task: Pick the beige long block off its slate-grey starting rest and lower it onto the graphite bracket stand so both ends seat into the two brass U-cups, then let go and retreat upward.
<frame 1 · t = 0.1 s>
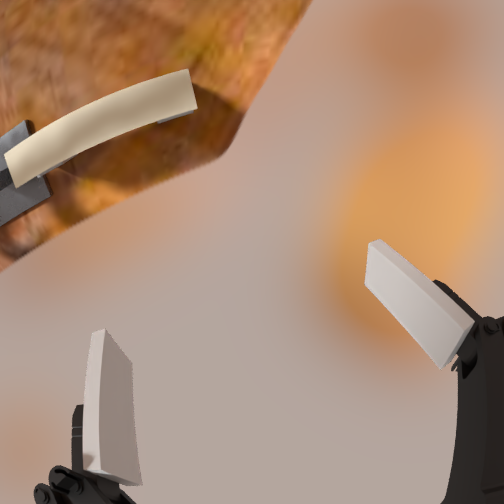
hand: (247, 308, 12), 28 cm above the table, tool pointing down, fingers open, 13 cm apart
beige long block: (101, 122, 23), point 6 cm above the table, touching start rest
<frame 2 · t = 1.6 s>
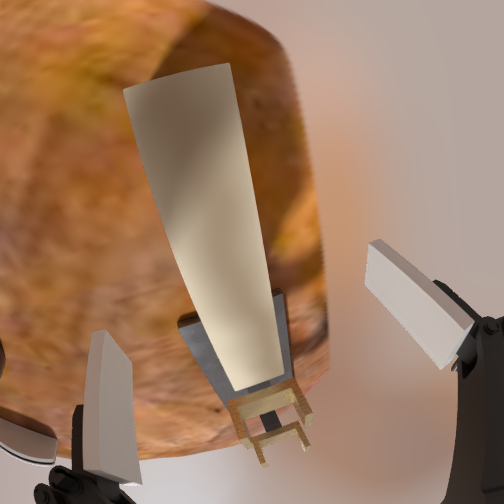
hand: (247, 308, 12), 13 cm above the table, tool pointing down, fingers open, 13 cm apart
beige long block: (210, 237, 18), point 6 cm above the table, touching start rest
grey curved block: (26, 428, 32), on the table
bracket stand: (249, 366, 37), on the table
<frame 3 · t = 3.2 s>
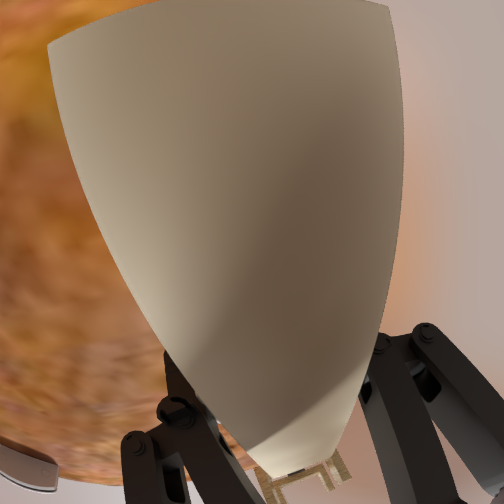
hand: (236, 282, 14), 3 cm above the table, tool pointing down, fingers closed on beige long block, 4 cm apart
beige long block: (251, 316, 12), point 6 cm above the table, touching gripper, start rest
grey curved block: (25, 454, 27), on the table
bracket stand: (270, 410, 30), on the table
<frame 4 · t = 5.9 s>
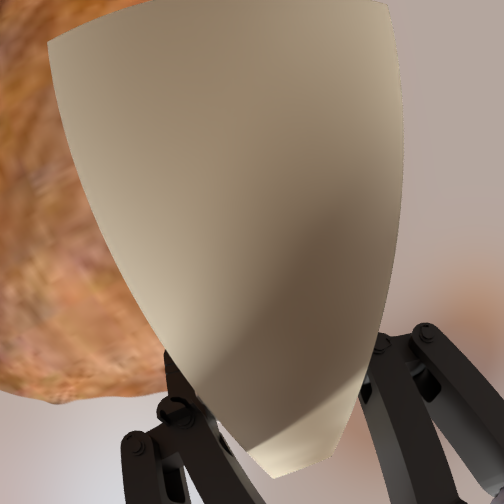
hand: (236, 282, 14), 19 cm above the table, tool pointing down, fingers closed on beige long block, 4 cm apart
beige long block: (251, 316, 12), point 21 cm above the table, touching gripper
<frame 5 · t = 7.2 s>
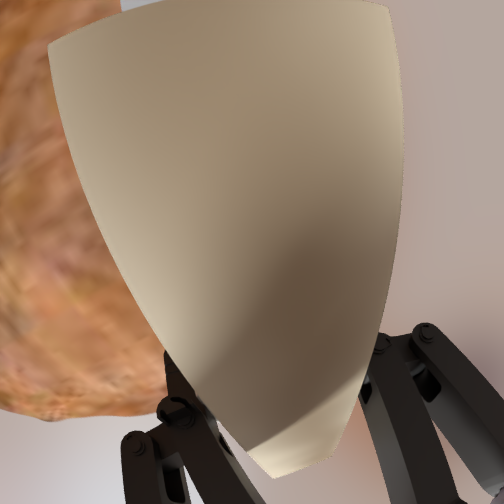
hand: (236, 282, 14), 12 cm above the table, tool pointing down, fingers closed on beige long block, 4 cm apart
beige long block: (251, 316, 12), point 15 cm above the table, touching gripper
when the fingers open (9 cm above the table, at t = 8.5 s): beige long block drops 1 cm, resting on bracket stand.
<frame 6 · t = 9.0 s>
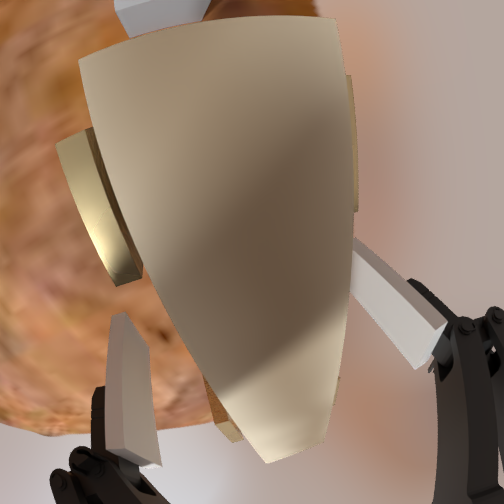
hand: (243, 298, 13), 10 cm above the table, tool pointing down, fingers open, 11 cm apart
beige long block: (242, 298, 13), point 10 cm above the table, touching bracket stand
bracket stand: (209, 216, 21), on the table
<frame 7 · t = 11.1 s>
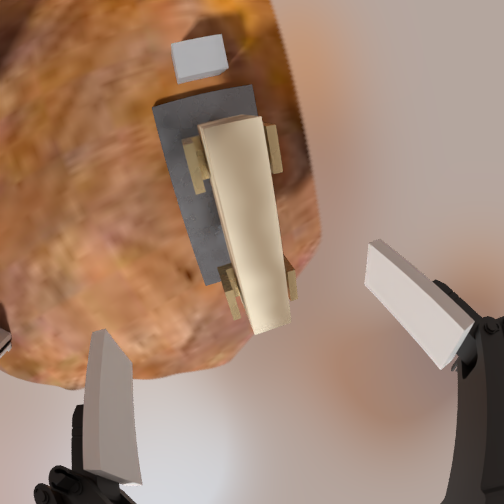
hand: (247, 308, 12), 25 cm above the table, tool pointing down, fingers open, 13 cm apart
beige long block: (241, 220, 26), point 10 cm above the table, touching bracket stand
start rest: (184, 11, 21), on the table
bracket stand: (223, 191, 35), on the table
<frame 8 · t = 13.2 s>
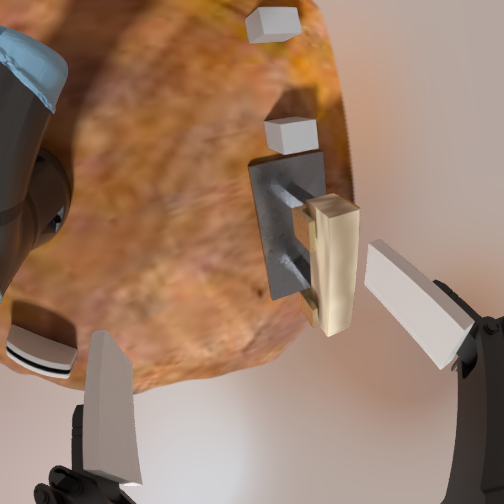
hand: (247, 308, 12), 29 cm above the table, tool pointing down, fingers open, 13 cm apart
beige long block: (322, 261, 38), point 10 cm above the table, touching bracket stand
grey curved block: (43, 339, 42), on the table
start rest: (273, 79, 32), on the table
bracket stand: (294, 230, 46), on the table
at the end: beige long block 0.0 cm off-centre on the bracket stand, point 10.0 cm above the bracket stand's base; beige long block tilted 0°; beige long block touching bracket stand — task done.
